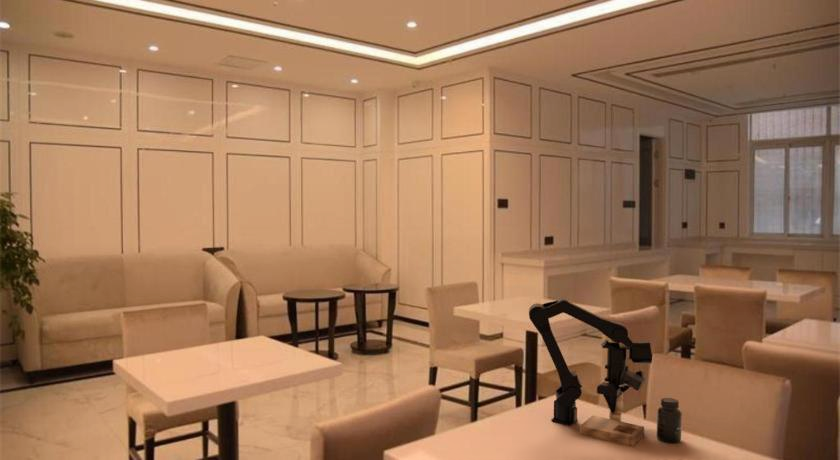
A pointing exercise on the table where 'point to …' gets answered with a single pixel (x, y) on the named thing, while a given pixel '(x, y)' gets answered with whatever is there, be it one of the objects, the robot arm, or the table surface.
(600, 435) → the board
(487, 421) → the table surface
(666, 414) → the supplement bottle
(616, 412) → the peg
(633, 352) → the robot arm
